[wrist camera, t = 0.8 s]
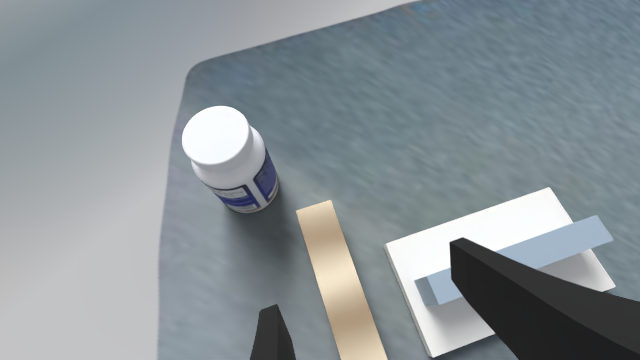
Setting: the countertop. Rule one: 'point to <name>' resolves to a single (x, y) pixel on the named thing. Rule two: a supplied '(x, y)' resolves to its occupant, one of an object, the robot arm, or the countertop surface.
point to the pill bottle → (231, 159)
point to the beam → (339, 284)
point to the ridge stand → (504, 238)
